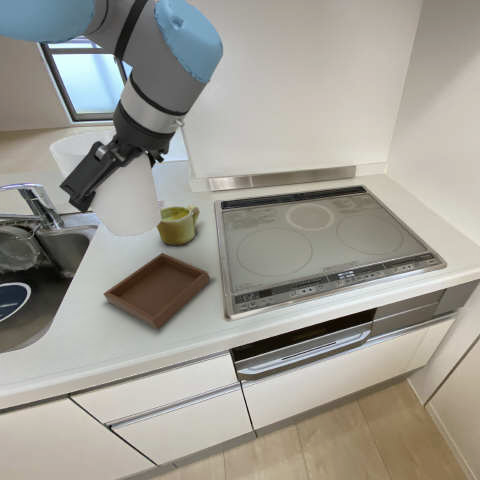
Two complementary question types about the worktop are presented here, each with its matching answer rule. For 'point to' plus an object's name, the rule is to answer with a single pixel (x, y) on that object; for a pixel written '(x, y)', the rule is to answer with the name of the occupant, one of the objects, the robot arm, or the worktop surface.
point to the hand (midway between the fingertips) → (111, 189)
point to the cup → (115, 186)
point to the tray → (158, 289)
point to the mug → (178, 224)
